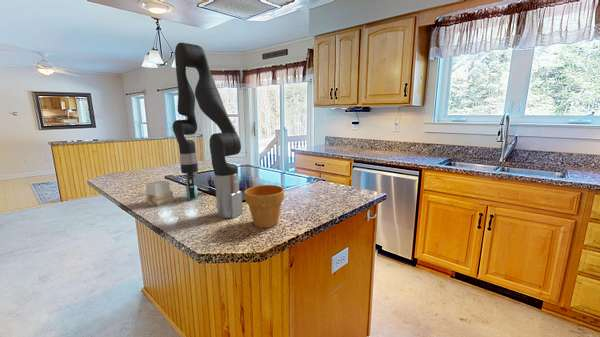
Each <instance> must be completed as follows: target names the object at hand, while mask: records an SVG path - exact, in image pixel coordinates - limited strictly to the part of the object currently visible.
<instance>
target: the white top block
mask: <svg viewBox="0 0 600 337" xmlns="http://www.w3.org/2000/svg"><path fill="white" fill-rule="evenodd" d="M145 188H146V194H150V195H154V196H158V195H162V194H165V193H169V192H170V191H171V187H170V181H168V180H162V179H159V180H155V181H150V182H147V183H145Z"/></svg>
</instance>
